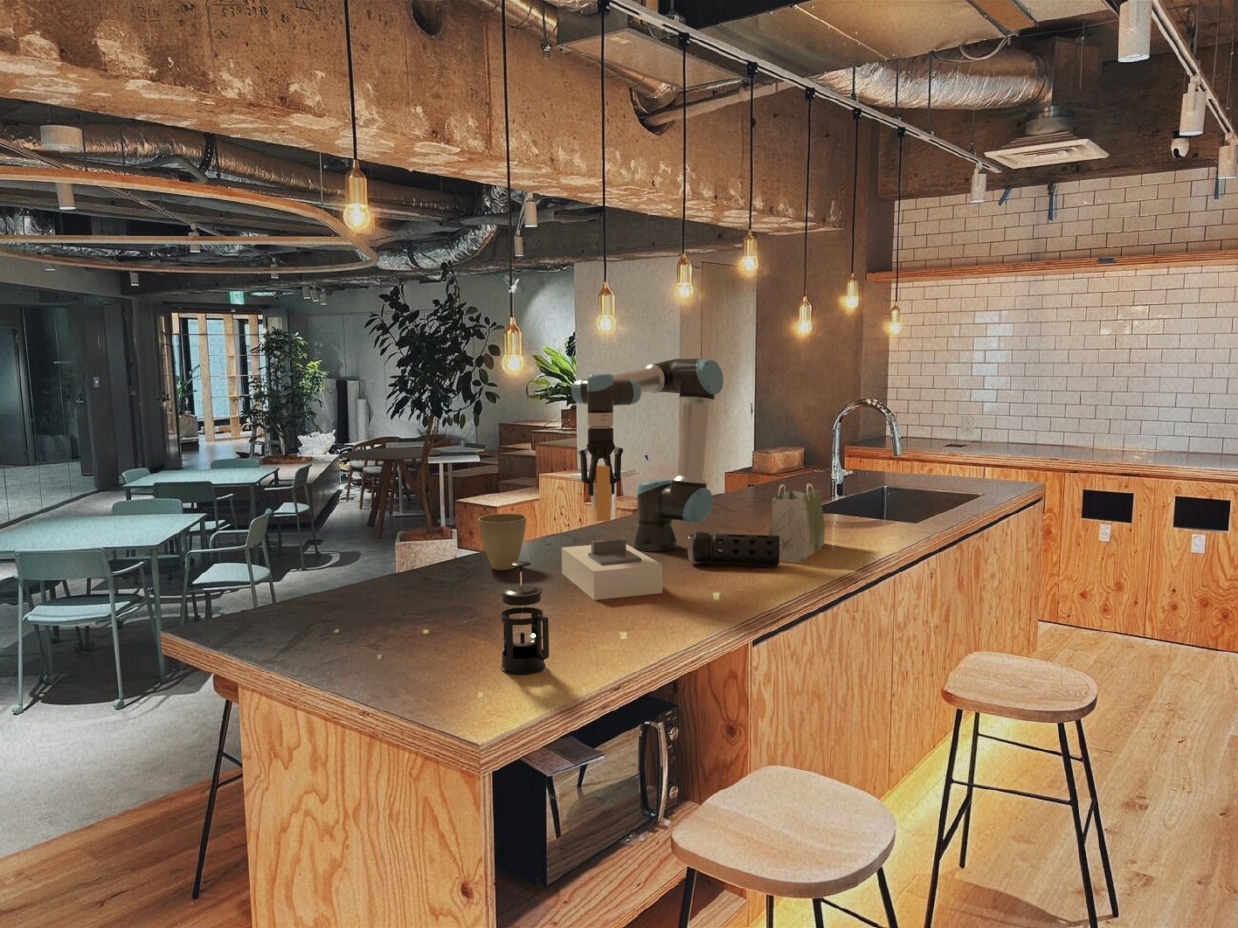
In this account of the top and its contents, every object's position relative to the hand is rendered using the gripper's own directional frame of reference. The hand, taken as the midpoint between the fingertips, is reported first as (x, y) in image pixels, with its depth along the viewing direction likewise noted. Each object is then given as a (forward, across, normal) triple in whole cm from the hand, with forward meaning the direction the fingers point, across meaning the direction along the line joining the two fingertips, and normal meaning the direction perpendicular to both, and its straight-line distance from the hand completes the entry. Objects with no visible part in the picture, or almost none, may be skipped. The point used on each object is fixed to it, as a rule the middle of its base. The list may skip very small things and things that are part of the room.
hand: (601, 505), depth 267 cm
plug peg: (+4, 0, 0) cm, 4 cm away
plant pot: (+22, -25, +23) cm, 40 cm away
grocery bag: (+22, +71, +9) cm, 75 cm away
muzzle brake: (+22, +43, -1) cm, 48 cm away
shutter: (+13, 0, -11) cm, 17 cm away
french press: (+22, -40, -68) cm, 82 cm away
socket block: (+22, 0, -7) cm, 23 cm away
